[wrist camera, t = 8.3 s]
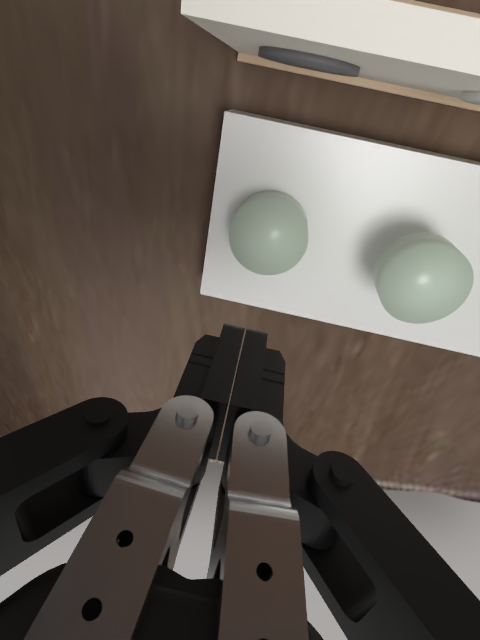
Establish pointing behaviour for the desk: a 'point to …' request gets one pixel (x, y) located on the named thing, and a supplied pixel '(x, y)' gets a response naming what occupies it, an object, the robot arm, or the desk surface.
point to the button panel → (343, 223)
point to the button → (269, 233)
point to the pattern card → (356, 43)
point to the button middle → (422, 278)
